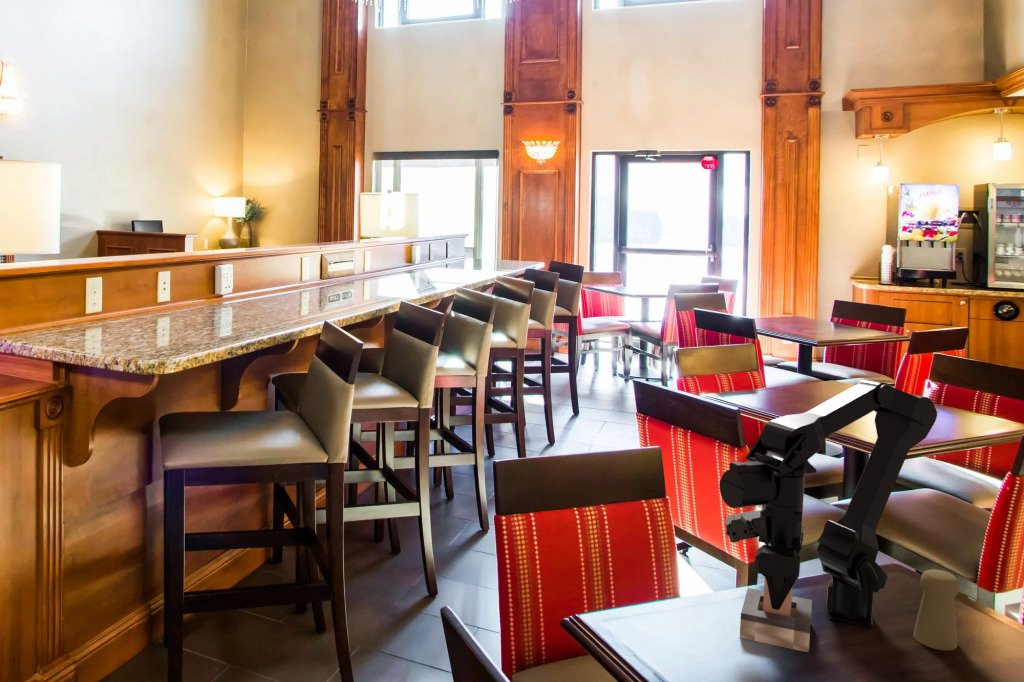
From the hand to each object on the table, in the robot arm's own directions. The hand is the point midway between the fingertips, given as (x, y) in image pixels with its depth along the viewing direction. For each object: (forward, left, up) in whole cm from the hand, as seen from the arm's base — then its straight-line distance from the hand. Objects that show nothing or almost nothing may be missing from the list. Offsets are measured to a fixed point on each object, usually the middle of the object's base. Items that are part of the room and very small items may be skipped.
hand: (777, 596), depth 114 cm
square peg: (0, 0, -6) cm, 6 cm away
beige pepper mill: (-23, -8, -6) cm, 25 cm away
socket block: (0, 0, -6) cm, 6 cm away
